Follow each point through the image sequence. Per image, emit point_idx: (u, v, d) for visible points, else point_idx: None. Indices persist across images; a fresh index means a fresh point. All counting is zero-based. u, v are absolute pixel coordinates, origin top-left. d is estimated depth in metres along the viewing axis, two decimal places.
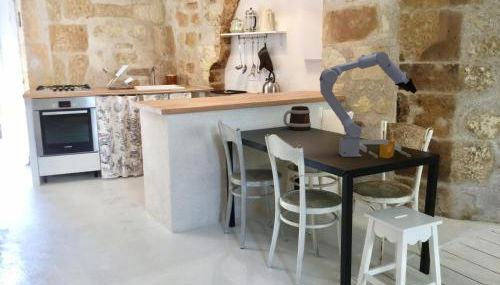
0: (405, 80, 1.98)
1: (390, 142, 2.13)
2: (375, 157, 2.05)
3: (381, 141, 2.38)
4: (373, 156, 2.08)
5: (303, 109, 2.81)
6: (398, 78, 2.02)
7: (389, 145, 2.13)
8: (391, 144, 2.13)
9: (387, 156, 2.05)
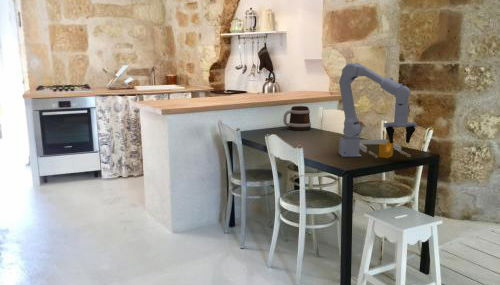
0: (384, 124, 1.96)
1: (389, 142, 2.14)
2: (375, 157, 2.05)
3: (381, 141, 2.38)
4: (373, 156, 2.08)
5: (303, 109, 2.81)
6: (394, 120, 1.97)
7: (388, 145, 2.14)
8: (390, 144, 2.13)
9: (386, 156, 2.05)
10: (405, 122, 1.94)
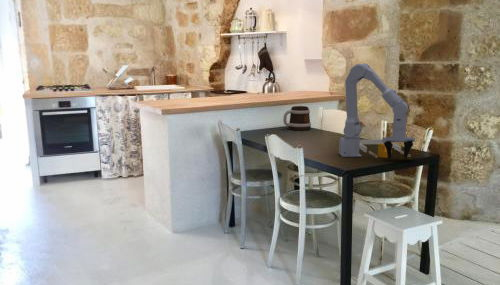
0: (383, 139, 1.98)
1: None
2: (375, 157, 2.05)
3: (381, 141, 2.38)
4: (373, 156, 2.08)
5: (303, 109, 2.81)
6: (392, 135, 1.99)
7: None
8: None
9: (385, 156, 2.06)
10: (403, 137, 1.96)
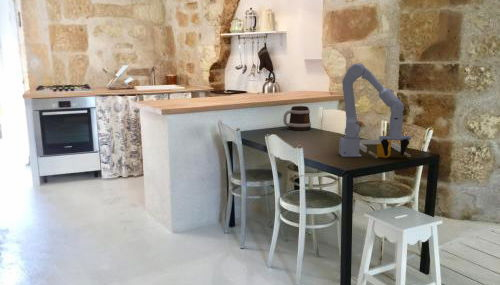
0: (379, 137, 2.02)
1: None
2: (375, 157, 2.05)
3: None
4: (373, 156, 2.08)
5: (303, 109, 2.81)
6: (389, 133, 2.03)
7: None
8: None
9: None
10: (399, 135, 2.00)
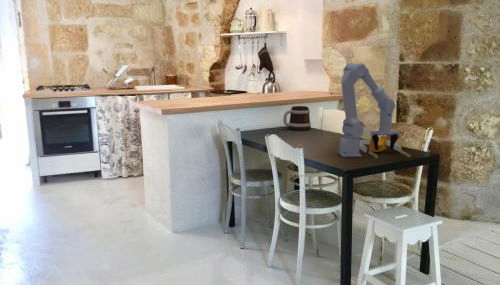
0: (370, 132, 2.15)
1: (382, 137, 2.26)
2: (375, 157, 2.05)
3: None
4: (373, 156, 2.08)
5: (303, 109, 2.81)
6: (379, 129, 2.16)
7: (381, 140, 2.26)
8: (383, 139, 2.26)
9: None
10: (389, 131, 2.13)
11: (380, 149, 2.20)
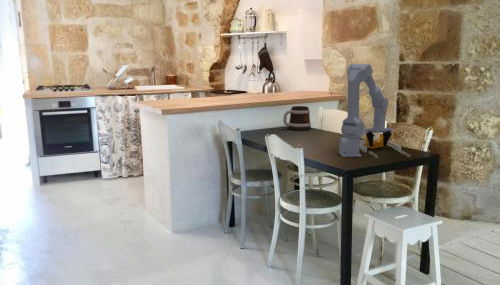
0: (365, 130, 2.23)
1: (381, 135, 2.32)
2: (375, 157, 2.05)
3: None
4: (373, 156, 2.08)
5: (303, 109, 2.81)
6: (373, 126, 2.24)
7: (380, 137, 2.32)
8: (382, 136, 2.32)
9: None
10: (383, 128, 2.21)
11: (376, 146, 2.27)
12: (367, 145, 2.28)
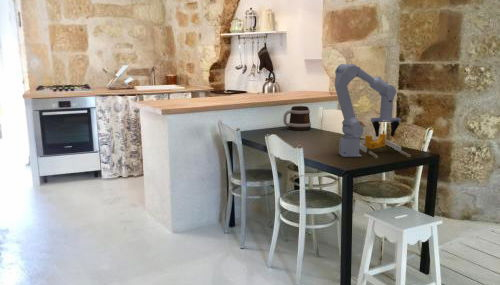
0: (371, 119, 2.14)
1: (381, 135, 2.33)
2: (375, 157, 2.05)
3: None
4: (373, 156, 2.08)
5: (303, 109, 2.81)
6: (380, 116, 2.15)
7: (380, 138, 2.33)
8: (381, 137, 2.32)
9: (370, 147, 2.26)
10: (390, 117, 2.11)
11: (375, 146, 2.28)
12: (366, 145, 2.29)
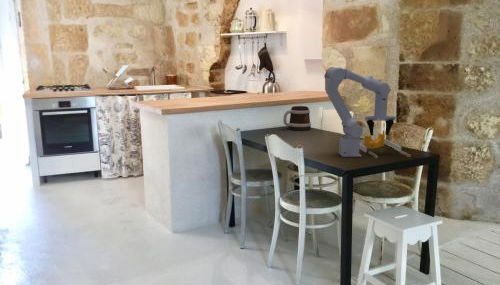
0: (365, 117, 2.10)
1: (379, 135, 2.33)
2: (375, 157, 2.05)
3: None
4: (373, 156, 2.08)
5: (303, 109, 2.81)
6: (374, 114, 2.11)
7: (378, 137, 2.34)
8: (380, 137, 2.33)
9: (369, 146, 2.27)
10: (384, 116, 2.08)
11: (374, 146, 2.28)
12: (365, 145, 2.29)
